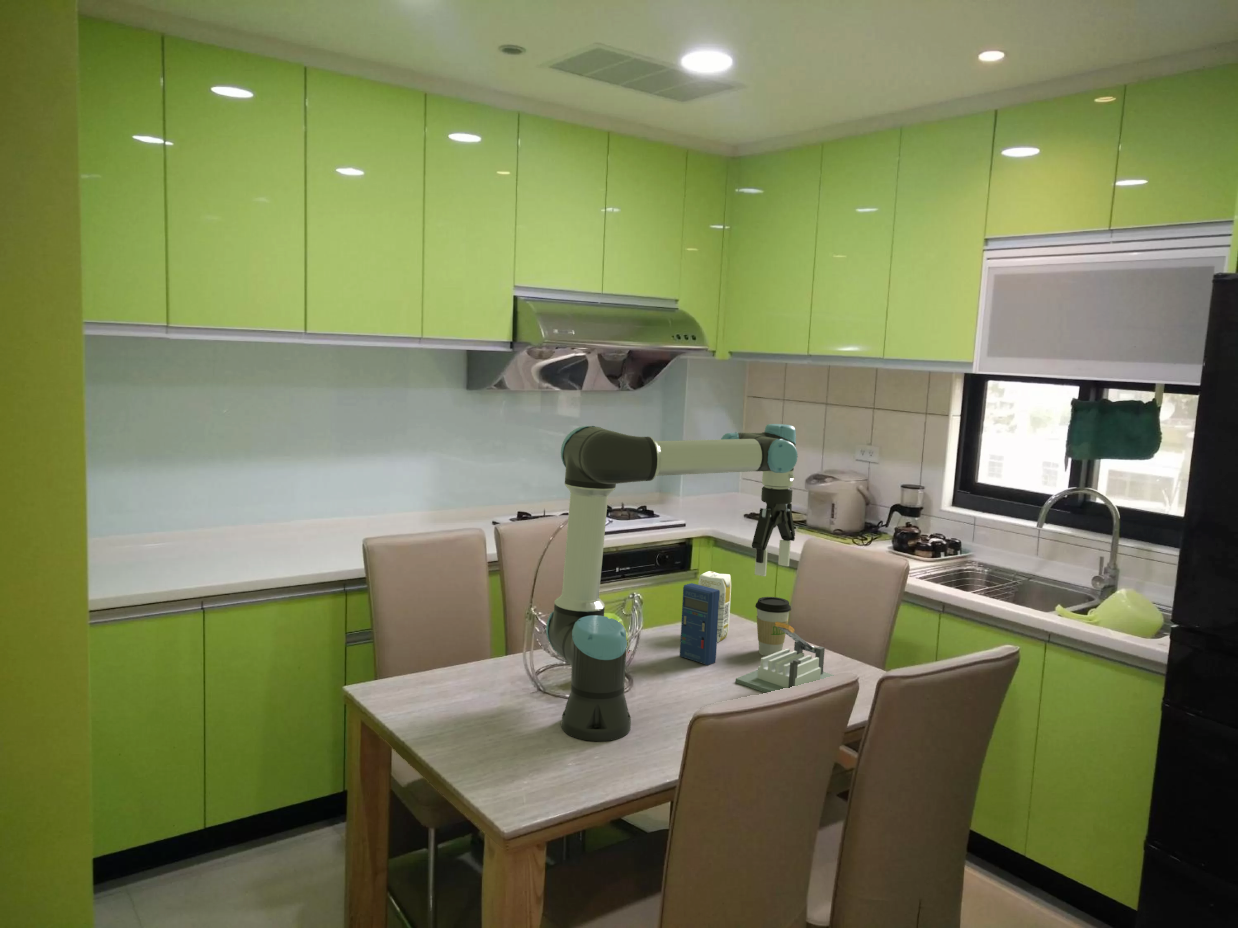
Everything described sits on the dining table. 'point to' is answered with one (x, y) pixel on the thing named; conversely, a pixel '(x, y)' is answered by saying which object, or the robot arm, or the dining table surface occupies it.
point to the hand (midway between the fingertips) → (772, 570)
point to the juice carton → (724, 586)
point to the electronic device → (699, 623)
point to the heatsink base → (786, 670)
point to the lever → (795, 637)
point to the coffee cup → (771, 623)
